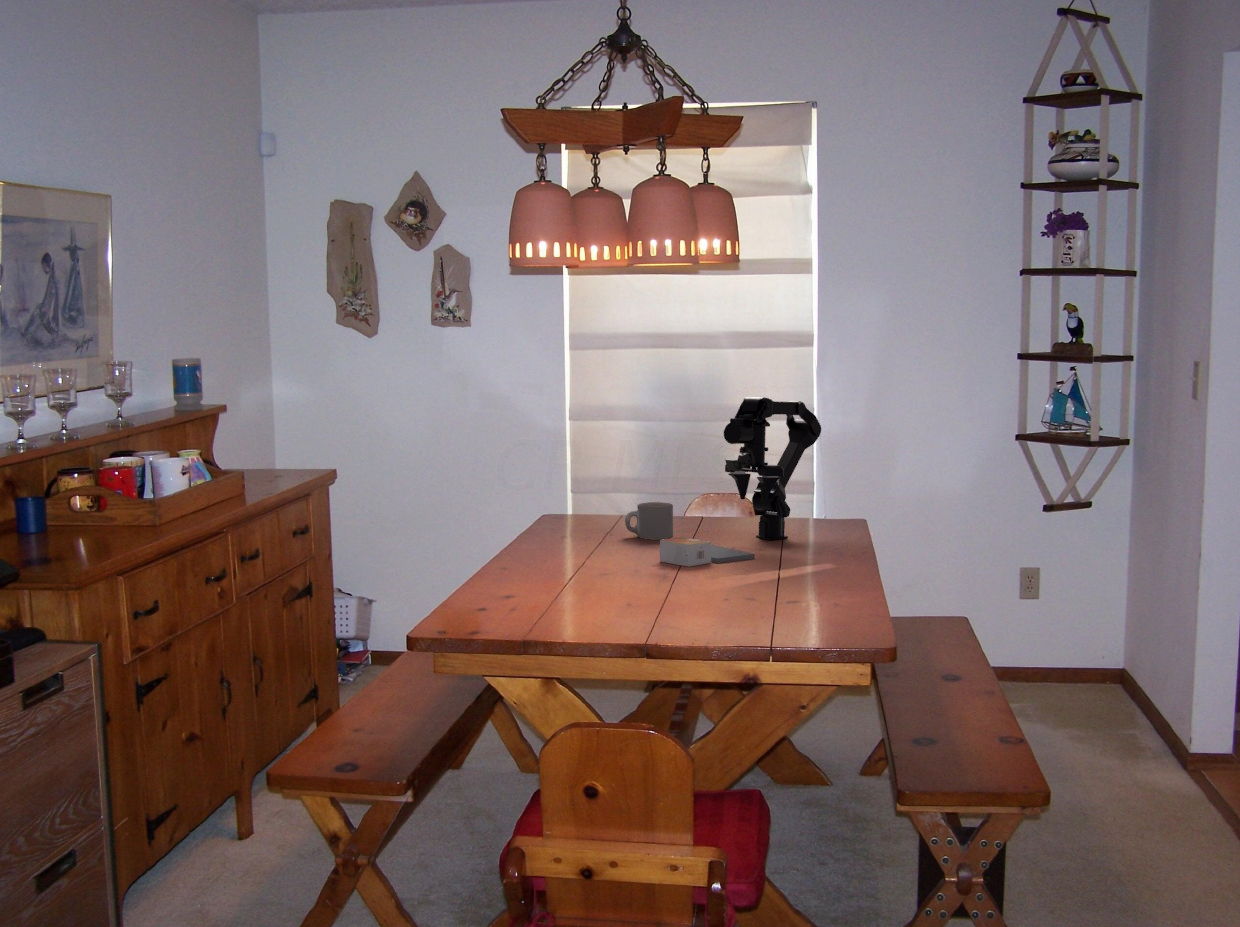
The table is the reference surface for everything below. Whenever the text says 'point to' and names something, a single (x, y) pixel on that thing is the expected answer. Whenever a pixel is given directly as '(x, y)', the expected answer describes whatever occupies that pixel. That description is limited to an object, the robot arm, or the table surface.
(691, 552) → the small box
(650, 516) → the coffee mug
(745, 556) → the mat
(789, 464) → the robot arm
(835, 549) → the table surface
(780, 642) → the table surface
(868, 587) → the table surface
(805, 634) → the table surface
